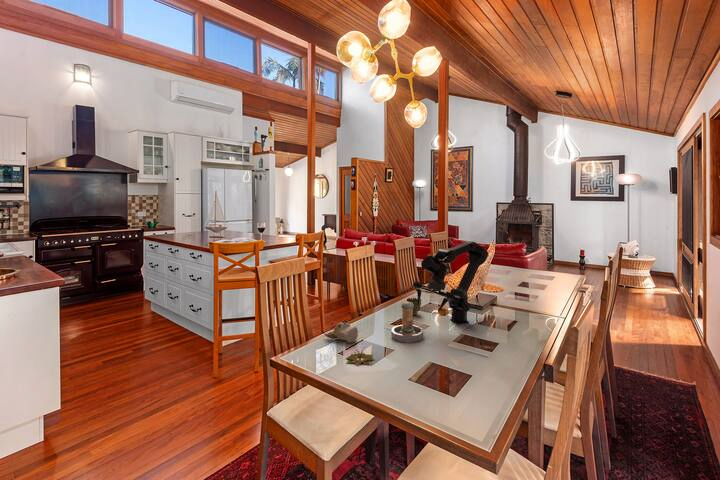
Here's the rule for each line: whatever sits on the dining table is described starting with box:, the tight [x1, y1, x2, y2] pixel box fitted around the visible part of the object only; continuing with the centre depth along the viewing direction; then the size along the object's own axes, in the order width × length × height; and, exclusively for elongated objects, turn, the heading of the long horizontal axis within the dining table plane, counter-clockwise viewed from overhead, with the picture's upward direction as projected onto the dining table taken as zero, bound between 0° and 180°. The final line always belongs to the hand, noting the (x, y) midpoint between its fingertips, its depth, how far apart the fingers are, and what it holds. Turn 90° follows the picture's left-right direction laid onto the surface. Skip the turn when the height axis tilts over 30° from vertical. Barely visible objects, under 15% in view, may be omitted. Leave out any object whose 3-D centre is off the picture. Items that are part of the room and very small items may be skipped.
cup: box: [406, 297, 422, 316], centre depth 196 cm, size 8×7×8 cm
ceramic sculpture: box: [323, 320, 359, 344], centre depth 164 cm, size 11×9×15 cm
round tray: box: [390, 324, 424, 344], centre depth 166 cm, size 14×14×3 cm
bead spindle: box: [400, 301, 415, 335], centre depth 165 cm, size 6×6×14 cm
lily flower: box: [345, 347, 376, 367], centre depth 144 cm, size 12×12×5 cm
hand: (427, 309), depth 170 cm, fingers open, 9 cm apart
